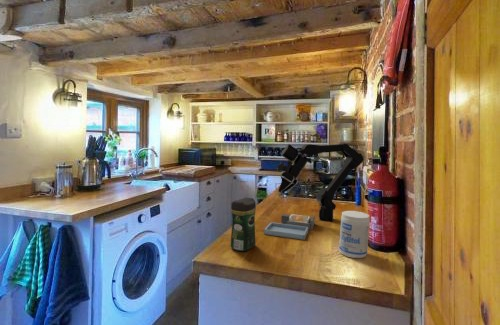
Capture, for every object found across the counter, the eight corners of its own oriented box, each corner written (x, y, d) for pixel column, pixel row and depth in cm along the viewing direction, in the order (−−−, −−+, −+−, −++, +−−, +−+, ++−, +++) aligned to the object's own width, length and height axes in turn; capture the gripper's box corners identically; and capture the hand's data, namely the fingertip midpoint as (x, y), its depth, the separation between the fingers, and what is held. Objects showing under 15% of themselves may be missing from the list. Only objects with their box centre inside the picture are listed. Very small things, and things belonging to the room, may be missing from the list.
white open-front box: (309, 224, 131) (310, 216, 131) (308, 228, 125) (308, 219, 125) (283, 221, 135) (283, 213, 135) (280, 224, 130) (280, 216, 129)
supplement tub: (337, 256, 96) (340, 215, 95) (339, 246, 105) (341, 209, 103) (367, 261, 92) (370, 219, 91) (367, 250, 101) (369, 212, 100)
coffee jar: (240, 240, 108) (241, 195, 107) (258, 245, 104) (259, 197, 102) (226, 249, 100) (227, 199, 98) (244, 254, 96) (245, 202, 94)
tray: (308, 231, 121) (308, 226, 121) (304, 240, 111) (304, 235, 110) (270, 226, 127) (270, 222, 127) (263, 234, 116) (264, 229, 116)
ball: (303, 223, 131) (303, 215, 131) (302, 225, 127) (302, 217, 127) (296, 222, 132) (296, 215, 132) (295, 224, 129) (294, 217, 128)
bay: (314, 224, 132) (314, 216, 131) (312, 229, 123) (312, 221, 123) (290, 221, 136) (291, 213, 135) (287, 226, 127) (287, 218, 127)
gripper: (287, 161, 147) (271, 185, 147) (281, 154, 130) (263, 182, 130) (304, 171, 143) (288, 196, 144) (301, 166, 126) (282, 194, 126)
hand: (280, 192), depth 136 cm, fingers open, 9 cm apart
